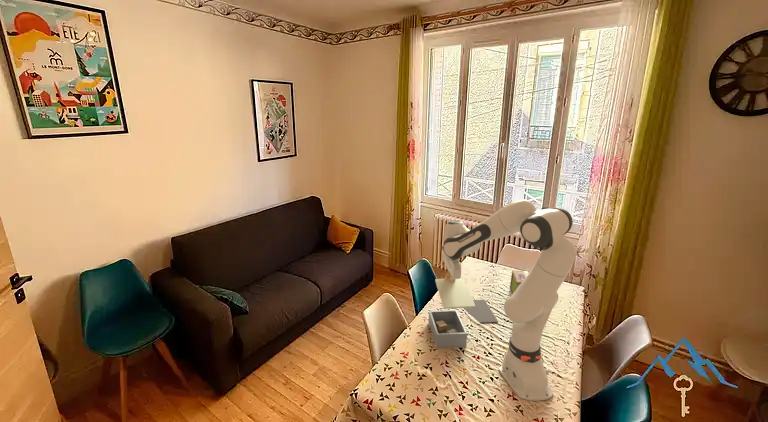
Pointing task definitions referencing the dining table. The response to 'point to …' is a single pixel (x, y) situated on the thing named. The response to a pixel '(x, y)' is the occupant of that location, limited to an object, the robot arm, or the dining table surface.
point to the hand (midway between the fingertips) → (450, 277)
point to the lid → (454, 293)
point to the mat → (481, 312)
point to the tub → (452, 323)
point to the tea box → (517, 279)
